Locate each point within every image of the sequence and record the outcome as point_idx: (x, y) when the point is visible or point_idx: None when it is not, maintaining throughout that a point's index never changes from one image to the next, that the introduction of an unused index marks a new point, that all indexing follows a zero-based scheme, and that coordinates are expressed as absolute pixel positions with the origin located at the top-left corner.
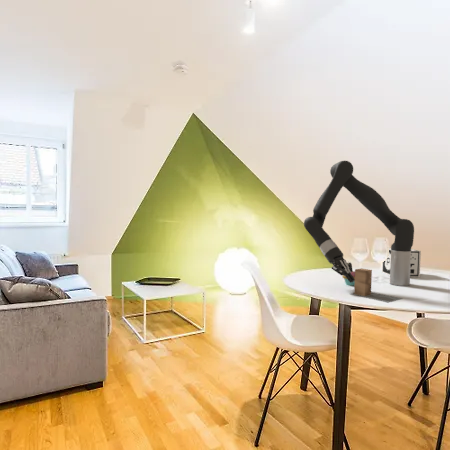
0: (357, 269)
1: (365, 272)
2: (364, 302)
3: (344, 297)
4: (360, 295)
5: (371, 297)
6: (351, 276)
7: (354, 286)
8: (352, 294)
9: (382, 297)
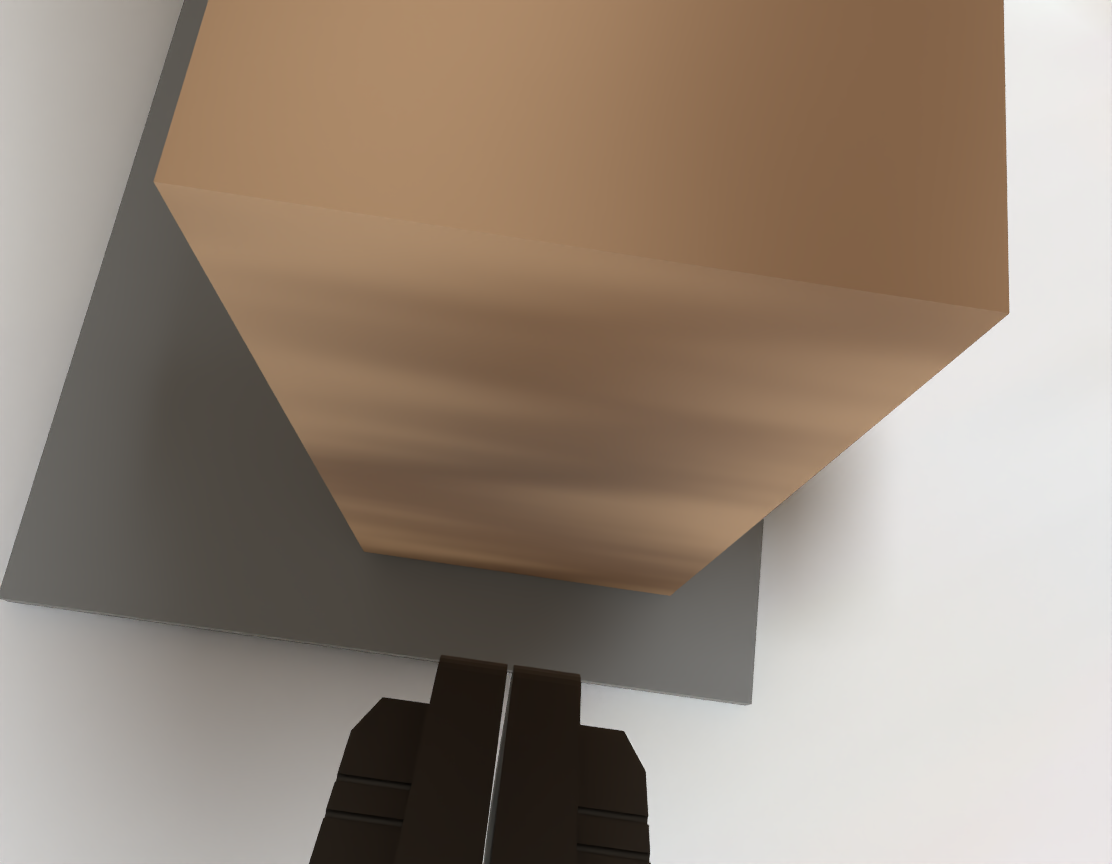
0: (930, 169)
1: None
2: (1092, 163)
3: (1090, 645)
4: None
5: None
6: (532, 798)
7: (711, 558)
8: (741, 608)
9: None
